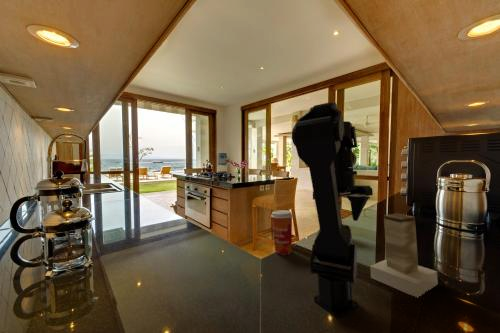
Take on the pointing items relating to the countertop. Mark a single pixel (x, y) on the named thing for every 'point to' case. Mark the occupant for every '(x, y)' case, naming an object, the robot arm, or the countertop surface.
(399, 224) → the oak post
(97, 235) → the countertop surface
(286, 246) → the paper cup
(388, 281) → the base slab
